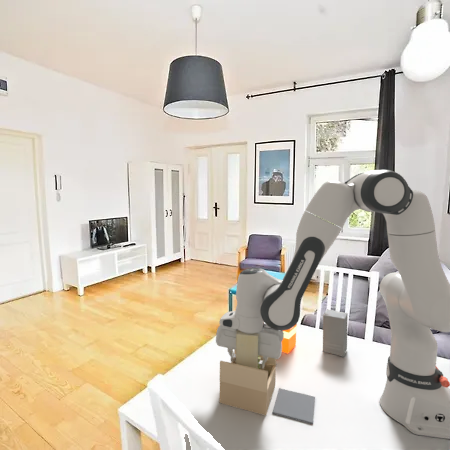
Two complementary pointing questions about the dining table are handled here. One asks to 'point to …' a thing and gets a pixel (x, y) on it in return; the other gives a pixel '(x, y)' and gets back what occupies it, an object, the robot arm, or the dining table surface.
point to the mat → (294, 405)
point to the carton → (247, 385)
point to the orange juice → (289, 339)
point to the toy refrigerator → (247, 349)
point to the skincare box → (335, 332)
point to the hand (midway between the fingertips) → (247, 364)
